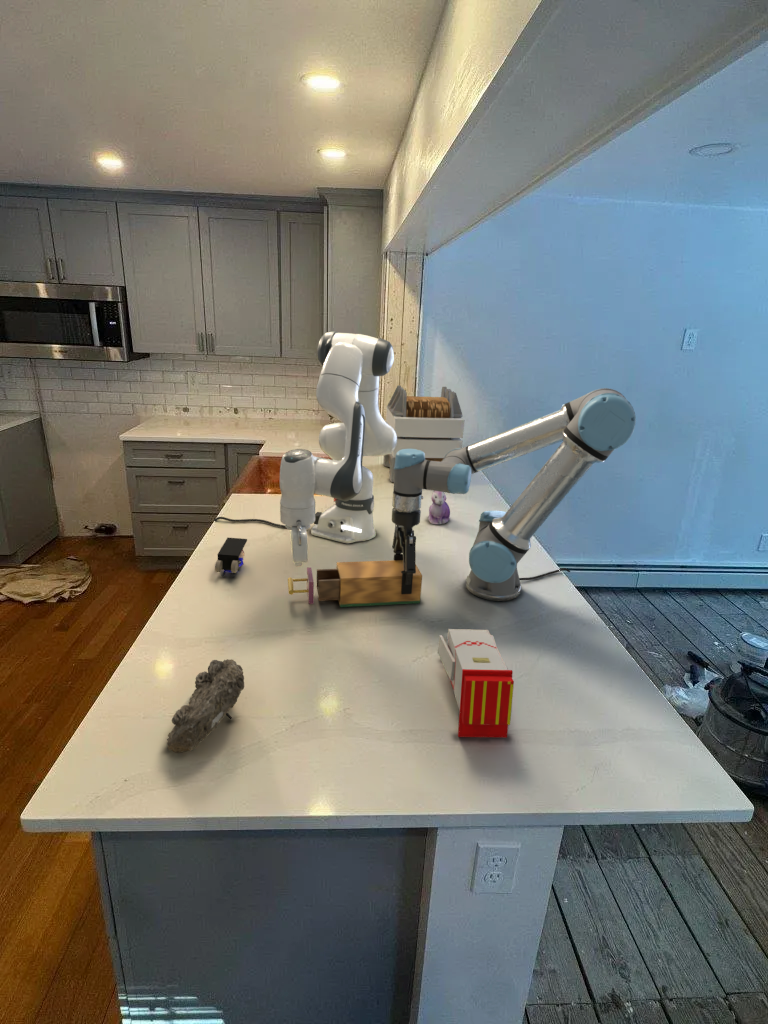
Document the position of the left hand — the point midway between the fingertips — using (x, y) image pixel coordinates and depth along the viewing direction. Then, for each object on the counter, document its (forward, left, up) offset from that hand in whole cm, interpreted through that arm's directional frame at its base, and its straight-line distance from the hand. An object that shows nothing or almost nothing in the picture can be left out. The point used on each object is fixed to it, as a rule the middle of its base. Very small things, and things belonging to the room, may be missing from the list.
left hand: (298, 563), depth 148 cm
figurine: (+24, +75, -11) cm, 79 cm away
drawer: (+9, +5, -10) cm, 14 cm away
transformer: (+3, +136, -11) cm, 137 cm away
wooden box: (+19, +10, -11) cm, 24 cm away
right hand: (+25, +13, -8) cm, 29 cm away
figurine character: (-26, +10, -11) cm, 30 cm away
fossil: (+3, -47, -11) cm, 49 cm away
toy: (+49, -23, -11) cm, 55 cm away
